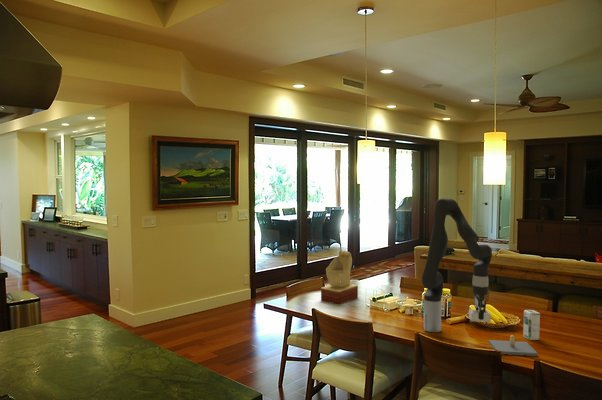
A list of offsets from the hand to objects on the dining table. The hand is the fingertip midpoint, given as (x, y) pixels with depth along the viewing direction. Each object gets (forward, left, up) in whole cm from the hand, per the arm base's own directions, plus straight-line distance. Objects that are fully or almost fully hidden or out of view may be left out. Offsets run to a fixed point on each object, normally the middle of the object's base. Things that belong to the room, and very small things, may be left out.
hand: (479, 317), depth 215 cm
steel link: (0, 0, -1) cm, 1 cm away
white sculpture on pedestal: (-76, +83, -15) cm, 113 cm away
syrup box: (+30, +17, -15) cm, 38 cm away
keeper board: (+15, -1, -15) cm, 21 cm away
